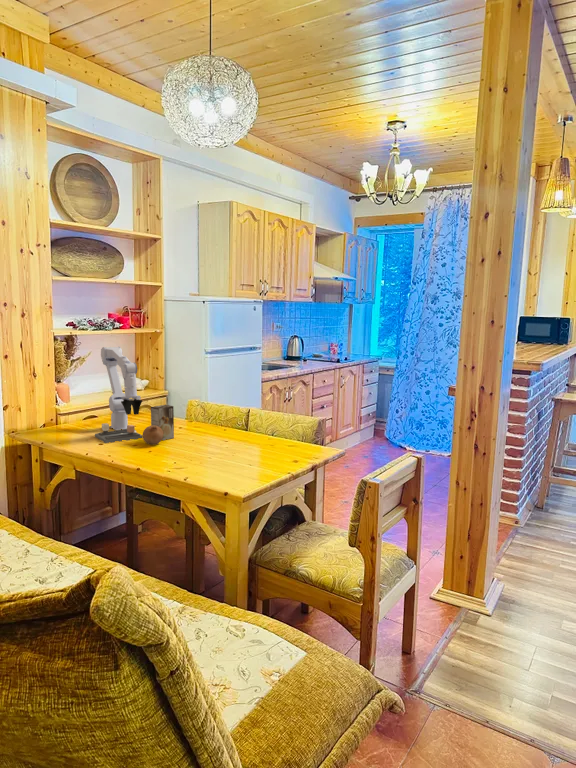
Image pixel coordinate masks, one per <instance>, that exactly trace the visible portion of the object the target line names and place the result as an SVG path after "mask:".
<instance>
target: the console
mask: <svg viewBox="0 0 576 768" xmlns="http://www.w3.org/2000/svg"><path fill="white" fill-rule="evenodd" d="M94 437H95V438H96V439H98V440H100V441H101V442H102V443H104V444H109V442H111V443H116V442H115V441H119V442H123V441H122V440H126V441H131V440H130V439H134V440H139V439H138V438H142V439H143V434H140V433H139V432H137V430H135V429H134V432H133V435H129V432H127V429H122V430H111V431H110V430H109V431H108V433H104V434H103V431H100V432H97V433H94Z"/></svg>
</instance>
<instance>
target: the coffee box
mask: <svg viewBox="0 0 576 768" xmlns="http://www.w3.org/2000/svg"><path fill="white" fill-rule="evenodd" d="M174 413H175V412H174V406H173V405H169V404H161V405H155V406H150V426H152V425H155V426H158V427H160V428H161V429H162V431H163V438H162V440H163V441H166V439H167V440H170V439H175V424H174V423H175V422H174V417H175V415H174Z"/></svg>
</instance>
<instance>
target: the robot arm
mask: <svg viewBox="0 0 576 768" xmlns="http://www.w3.org/2000/svg"><path fill="white" fill-rule="evenodd" d="M100 358H101V362H102V364H103V365H104V366H105V367H106V370H107V371H106V372H107V375H108V379H109V383H110V387H111V391H112V395H111V396H110V397H109V398H108V404H109V405H108V406H109V410H110V411H111V412H112V413H111V414H110V419H111V421H110V425H109V428H111V429H112V428H113V431H117V430H121V429H122V430H125V429H127V425H129V423H128V421H129V420H128V415H132V411H133V415H134V416H136V415H139V414H140V407H141V405H142V403H143V400H142V399H141V395H138V391H137V388H138V387H137V373H138V366H137V363H136V362H132V361H130V359H129V358H128V357H127V356H126V355H123V349H122V348H121V346H112V347H111V346H110V347H107V346H106V347H105V346H103V347H101V349H100ZM117 367H119V368H120V370H121V374H122V379H123V384H124V392H123V388H122V384H121V380H120V376H119V373H118V368H117Z"/></svg>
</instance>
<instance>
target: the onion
mask: <svg viewBox="0 0 576 768" xmlns="http://www.w3.org/2000/svg"><path fill="white" fill-rule="evenodd" d="M162 438H163V431H162V429H161V428H160V427H158V426H155V425H152V426H151V425H149V426H147V427H145V428H144V430H143V432H142V439H143V442H145V444H147V445H150V446H151V445H152V446H153V445H158V444H159V443H160V442H162V441H161V440H162Z"/></svg>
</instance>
